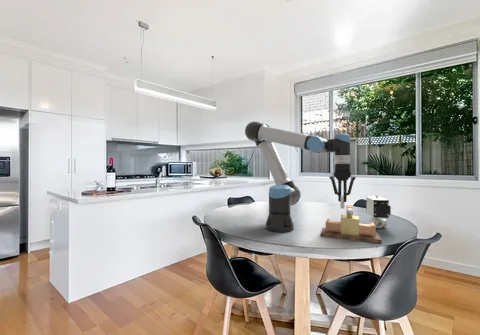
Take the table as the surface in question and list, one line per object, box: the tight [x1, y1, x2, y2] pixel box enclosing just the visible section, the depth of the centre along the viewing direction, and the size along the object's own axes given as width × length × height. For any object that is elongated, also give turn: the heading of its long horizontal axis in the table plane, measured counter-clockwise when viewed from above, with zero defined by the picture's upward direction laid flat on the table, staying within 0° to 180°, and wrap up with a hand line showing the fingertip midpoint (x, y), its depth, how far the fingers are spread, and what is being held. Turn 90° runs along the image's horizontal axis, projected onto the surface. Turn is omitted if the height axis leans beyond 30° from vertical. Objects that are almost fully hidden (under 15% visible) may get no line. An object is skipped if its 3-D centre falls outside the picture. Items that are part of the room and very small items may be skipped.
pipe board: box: [320, 227, 383, 244], centre depth 120 cm, size 26×12×2 cm, turn 67°
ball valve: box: [365, 194, 392, 229], centre depth 138 cm, size 18×8×18 cm, turn 168°
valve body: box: [325, 214, 377, 237], centre depth 120 cm, size 22×8×10 cm, turn 67°
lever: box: [345, 205, 354, 216], centre depth 125 cm, size 14×3×2 cm, turn 157°
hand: (342, 208), depth 130 cm, fingers closed
